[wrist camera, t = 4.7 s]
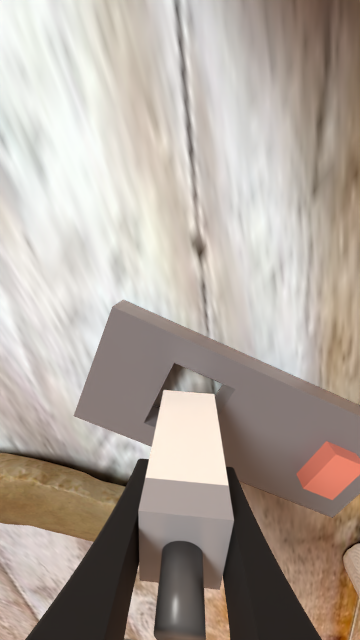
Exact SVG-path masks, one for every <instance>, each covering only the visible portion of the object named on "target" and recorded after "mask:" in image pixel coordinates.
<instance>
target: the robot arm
mask: <svg viewBox="0 0 360 640" xmlns="http://www.w3.org/2000/svg"><path fill="white" fill-rule="evenodd" d="M148 462H149V459H139V460H138V461H137V464H136V466H135V468H134V471H133V473H132V475H131V477H130V479H129V481H128V483H127V485H126V487H125V489H124V491H123V493H122V495H121V497H120V498H119V500H118V502H117V504H116V506H115V507H114V509H113V511H112V513H111V515H110V516H109V518H108V520H107V521H106V523H105V525H104V526H103V528H102V530H101V531H100V533H99V534H98V536H97V538H96V539H95V541H94V543H93V544H92V546H91V547H90V549H89V550H88V552H87V554H86V555H85V557H84V558H83V560H82V561H81V563H80V564H79V566H78V567H77V569H76V570H75V572H74V573H73V575H72V576H71V577H70V579H69V580H68V582H67V583H66V585H65V586H64V587H63V589H62V590H61V592H60V593H59V594H58V596H57V597H56V599H55V600H54V601H53V603H52V604H51V606H50V607H49V608H48V610H47V611H46V613H45V614H44V615H43V617H42V618H41V619H40V621H39V622H38V623H37V625H36V626H35V627H34V629H33V630H32V631H31V633H30V634H29V635H28V637H27V638H26V639H25V640H124V635H125V629H126V623H127V617H128V612H129V607H130V602H131V596H132V592H133V587H134V583H135V578H136V574H137V569H138V565H139V514H138V510H139V505H140V501H141V496H142V491H143V486H144V482H145V477H146V472H147V467H148ZM226 472H227V479H228V485H229V491H230V498H231V504H232V510H233V517H234V523H233V528H232V533H231V538H230V542H229V547H228V552H227V557H226V561H225V566H224V571H223V581H224V588H225V595H226V603H227V610H228V619H229V628H230V640H322V639H321V638H320V636H319V634H318V633H317V631H316V629H315V628H314V626H313V624H312V623H311V621H310V619H309V618H308V616H307V614H306V613H305V611H304V609H303V607H302V606H301V604H300V602H299V601H298V599H297V597H296V595H295V594H294V592H293V590H292V588H291V587H290V585H289V583H288V581H287V579H286V578H285V576H284V574H283V572H282V570H281V568H280V567H279V565H278V563H277V561H276V559H275V557H274V555H273V553H272V551H271V550H270V548H269V546H268V544H267V542H266V540H265V538H264V536H263V534H262V532H261V529H260V527H259V525H258V523H257V521H256V519H255V517H254V515H253V513H252V511H251V508H250V506H249V504H248V502H247V499H246V497H245V495H244V492H243V490H242V488H241V485H240V483H239V480H238V477H237V475H236V472H235V469H234V468H233V467H226Z"/></svg>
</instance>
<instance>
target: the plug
mask: <svg viewBox="0 0 360 640" xmlns="http://www.w3.org/2000/svg"><path fill="white" fill-rule="evenodd" d="M138 514H139V572H140V580H141V581H149V582H158V583H159V586H158V596H157V606H156V616H155V626H154V636H155V638H156V639H157V640H206V632H205V604H204V588H210V589H218V590H220V585H221V580H222V576H223V571H224V566H225V561H226V557H227V552H228V547H229V542H230V538H231V533H232V528H233V523H234V517H233V510H232V504H231V498H230V491H229V485H228V479H227V472H226V466H225V460H224V453H223V447H222V441H221V434H220V428H219V421H218V415H217V409H216V402H215V396H214V394H207V393H195V392H182V391H170V390H164V391H163V396H162V400H161V405H160V410H159V415H158V419H157V424H156V429H155V434H154V439H153V443H152V448H151V453H150V458H149V462H148V467H147V472H146V477H145V482H144V486H143V491H142V496H141V501H140V505H139V510H138Z"/></svg>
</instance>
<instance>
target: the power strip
mask: <svg viewBox="0 0 360 640" xmlns="http://www.w3.org/2000/svg"><path fill="white" fill-rule="evenodd" d="M174 363H176V364H178V365H180V366H183V367H185V368H187V369H190V370H192V371H194V372H197V373H199V374H201V375H204V376H206V377H208V378H211V379H213V380H215V381H218V382H220V383H222V384H223V385H222V386H221V388H220V390H219V391H218V393H217V394H216V396H215V402H216V409H217V415H218V421H219V428H220V434H221V441H222V447H223V453H224V460H225V466H226V467H233V468H234V469H235V472H236V475H237V477H238V480H239V481H240V482H243V483H245V484H248V485H250V486H253V487H256V488H258V489H261V490H263V491H266V492H268V493H271V494H273V495H276V496H278V497H281V498H284V499H286V500H289V501H291V502H294V503H296V504H299V505H301V506H304V507H306V508H309V509H312V510H314V511H317V512H319V513H322V514H324V515H327V516H329V517H332V518H333V517H334V516H335V515H336V514H337V513H338V512H340V511H341V510H342V509H343V508H344V507H345V506H346V505H347V504H349V503H350V502H351V501H352V500H353V499H354V498H355V497H356V496H358V495H359V494H360V405H358V404H355V403H353V402H351V401H349V400H347V399H344V398H342V397H340V396H338V395H335V394H333V393H331V392H329V391H326V390H324V389H322V388H320V387H317V386H315V385H313V384H311V383H309V382H306V381H304V380H302V379H300V378H297V377H295V376H293V375H291V374H288V373H286V372H284V371H282V370H279V369H277V368H275V367H273V366H271V365H268V364H266V363H264V362H262V361H259V360H257V359H255V358H253V357H250V356H248V355H246V354H244V353H241V352H239V351H237V350H235V349H233V348H230V347H228V346H226V345H224V344H221V343H219V342H217V341H215V340H212V339H210V338H208V337H206V336H203V335H201V334H199V333H197V332H195V331H192V330H190V329H188V328H186V327H183V326H181V325H179V324H177V323H174V322H172V321H170V320H168V319H165V318H163V317H161V316H159V315H157V314H154V313H152V312H150V311H148V310H145V309H143V308H141V307H139V306H136V305H134V304H132V303H130V302H127V301H125V300H122V301H121V302H119V303H117V304H116V305H114V306H113V307H112V310H111V312H110V315H109V318H108V321H107V324H106V326H105V329H104V332H103V335H102V338H101V341H100V343H99V346H98V349H97V352H96V355H95V357H94V360H93V363H92V366H91V369H90V372H89V374H88V377H87V380H86V383H85V386H84V388H83V391H82V394H81V397H80V400H79V403H78V405H77V408H76V411H75V414H74V416H75V417H78V418H80V419H83V420H85V421H88V422H90V423H93V424H95V425H98V426H100V427H103V428H106V429H108V430H111V431H113V432H116V433H118V434H121V435H123V436H126V437H128V438H131V439H134V440H136V441H139V442H141V443H144V444H146V445H149V446H151V447H152V443H153V439H154V434H155V429H156V424H157V419H158V415H159V410H160V408H159V407H157V406H154V405H153V404H154V402H155V400H156V398H157V396H158V394H159V392H160V390H161V388H162V386H163V384H164V382H165V380H166V378H167V376H168V374H169V372H170V370H171V368H172V366H173V364H174Z"/></svg>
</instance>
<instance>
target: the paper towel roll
mask: <svg viewBox="0 0 360 640" xmlns="http://www.w3.org/2000/svg"><path fill="white" fill-rule="evenodd" d="M343 562H344V567H345V569H346V571H347V573H348V575H349V578H350V580H351V582H352V584H353V586H354V588H355V590H356V592H357V594H358V596H359V598H360V543H359V544H356V545H354V546H353V547H351V548H350V549H348V550H347V551H346V553H345V555H344V556H343Z"/></svg>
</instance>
